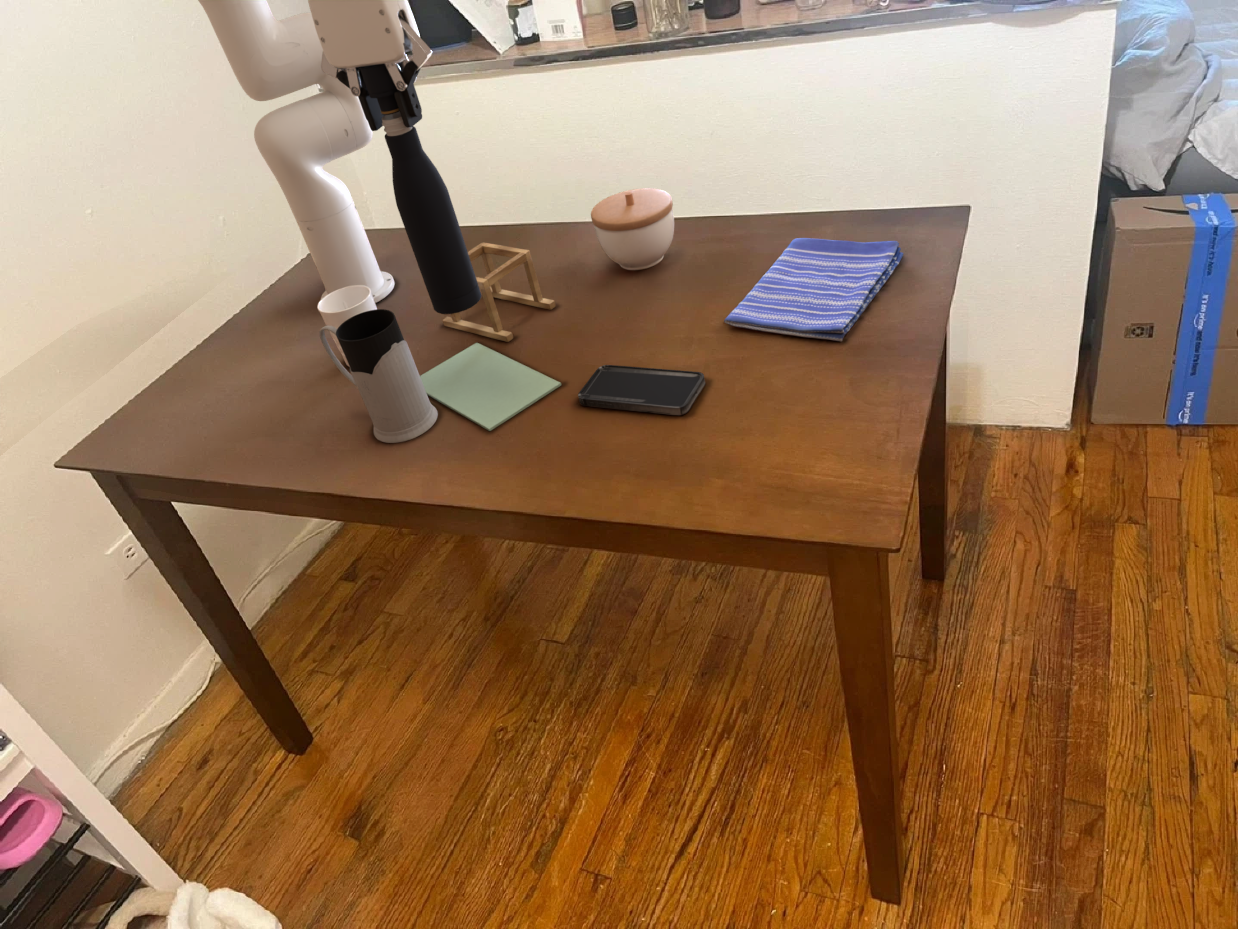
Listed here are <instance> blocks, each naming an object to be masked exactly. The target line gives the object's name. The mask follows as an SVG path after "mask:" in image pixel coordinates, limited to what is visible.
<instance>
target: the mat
mask: <svg viewBox="0 0 1238 929" xmlns="http://www.w3.org/2000/svg"><path fill="white" fill-rule="evenodd" d="M420 378H421V380H422V383H423V385H424V388H425V391H426V393H427V396H428V397H430V398H432V399H434V400H435V401H437V402H439V403H441V404H442V405H444V406H446V407H447V408H448V409H451V410H452V411H454V412H456V413H457V414H459V415H461V416H463V417H464V418H466V419H468V420H470V421H471V422H473V423H475V424H476V425H478V426H479V427H482V428H483V429H485V430H487V431H488V432H491V431H493V430H494V429H496V428H497V427H499V426H501V425H502V424H504V423H506V422H507V421H508V420H510V419H511V418H513V417H515V416H516V415H518V414H519V413H521V412H522V411H524V410H525V409H527V408H529V407H530V406H532V405H534V404H535V403H536V402H538V401H540V400H541V399H542V398H544V397H546V396H547V395H549V394H550V393H552V392H553V391H556V389H558V388H560V387H561V386H562V382H560V381H558V380H556V379H553V378H552V377H549V376H547V375H545V374H543V373H541V372H540V371H537V370H535V369H533V368H531V367H529V366H526V365H524V364H523V363H520V362H519V361H516V360H515V359H512V358H510V357H508V356H506V355H504V354H501V353H500V352H497V351H496V350H494V349H491V348H489V347H488V346H485V345H483V344H481V343H478V342H474V343H473V344H471V345H470V346H468V347H467V348H464V350H461V351H460V352H458V353H456V354H455V355H453V356H451V357H450V358H448V359H446V360H444V361H443V362H441V363H440V364H438V365H436V366H434V367H432V368H431V369H429V370H427V371H426V372H424V373H422V374H420Z"/></svg>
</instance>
